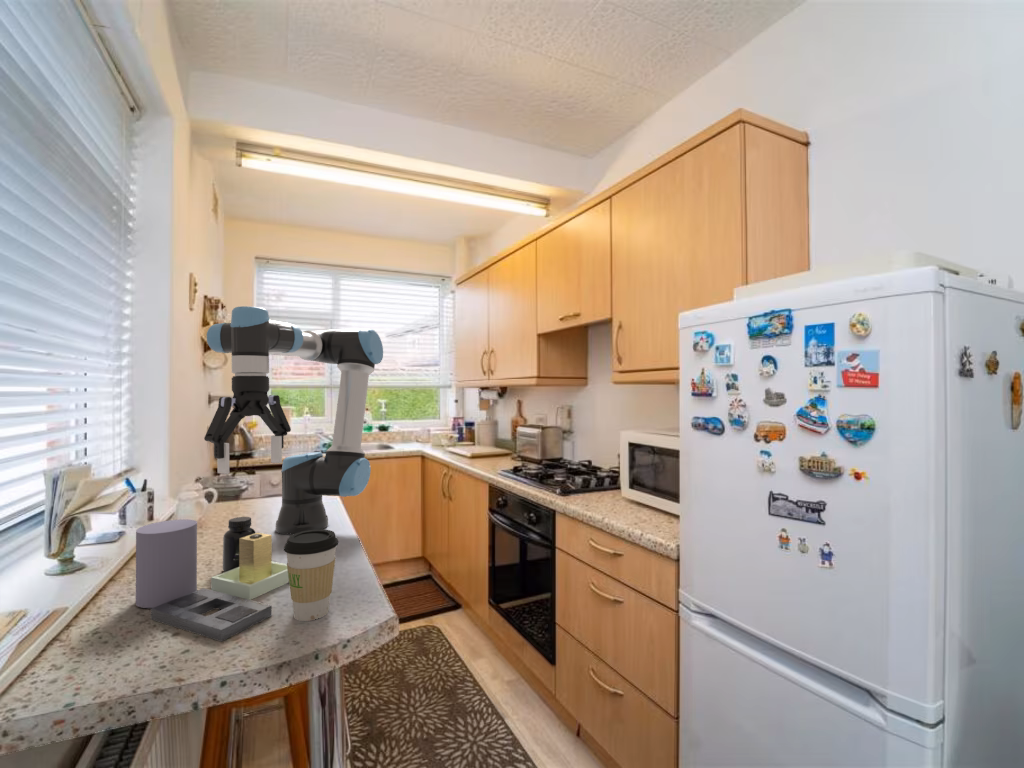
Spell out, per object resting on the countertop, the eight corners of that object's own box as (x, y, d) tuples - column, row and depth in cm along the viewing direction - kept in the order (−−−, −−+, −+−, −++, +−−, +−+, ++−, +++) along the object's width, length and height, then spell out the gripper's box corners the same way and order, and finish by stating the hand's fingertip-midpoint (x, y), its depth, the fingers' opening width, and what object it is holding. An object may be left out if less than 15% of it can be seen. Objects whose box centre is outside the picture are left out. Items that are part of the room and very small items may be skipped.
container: (205, 586, 104) (206, 518, 104) (181, 607, 94) (181, 532, 94) (153, 589, 102) (154, 520, 103) (123, 611, 92) (123, 535, 92)
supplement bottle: (240, 575, 110) (240, 523, 110) (215, 572, 112) (215, 522, 112) (261, 564, 117) (261, 516, 117) (238, 562, 118) (238, 514, 118)
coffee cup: (298, 601, 96) (299, 528, 97) (346, 602, 96) (346, 528, 96) (273, 625, 87) (273, 544, 87) (325, 626, 86) (325, 544, 86)
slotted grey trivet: (203, 597, 98) (203, 587, 98) (271, 615, 90) (271, 604, 90) (150, 619, 89) (150, 608, 89) (221, 641, 81) (221, 629, 81)
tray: (260, 570, 113) (260, 558, 113) (297, 578, 108) (297, 566, 108) (211, 590, 102) (211, 577, 102) (249, 600, 97) (249, 586, 97)
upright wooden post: (257, 576, 108) (257, 531, 108) (271, 579, 106) (271, 534, 106) (239, 583, 104) (239, 537, 104) (253, 587, 102) (253, 540, 102)
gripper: (283, 375, 120) (284, 458, 121) (184, 374, 97) (185, 477, 97) (305, 375, 118) (306, 460, 118) (208, 374, 94) (209, 479, 95)
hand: (251, 467), depth 108 cm, fingers open, 13 cm apart
